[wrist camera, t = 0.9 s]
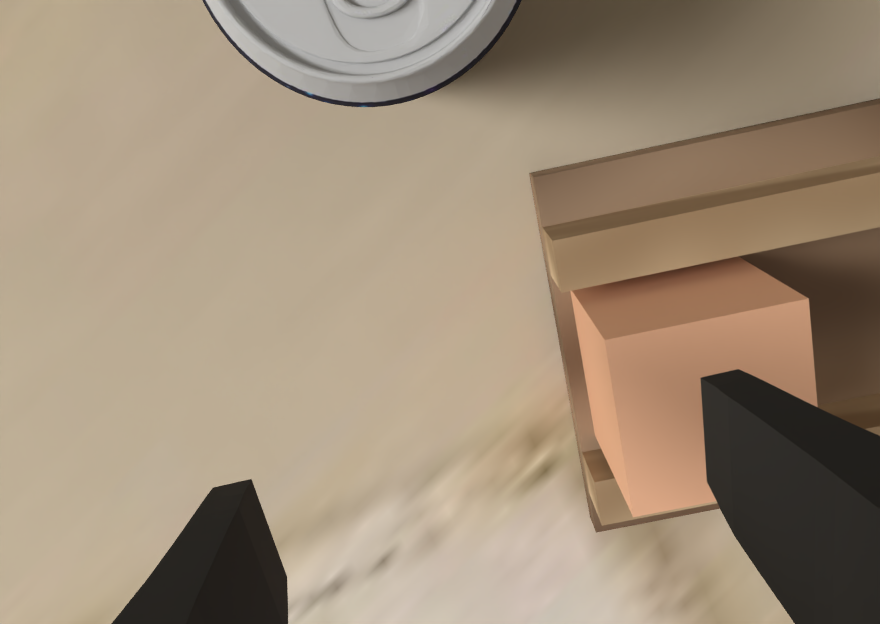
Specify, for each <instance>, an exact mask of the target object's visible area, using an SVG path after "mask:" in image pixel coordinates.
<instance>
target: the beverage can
mask: <svg viewBox="0 0 880 624" xmlns="http://www.w3.org/2000/svg"><path fill="white" fill-rule="evenodd" d="M203 2H204V4H205V6H206V8H207V10H208V11H209V13H210V15H211V17H212V18H213V20H214V21H215V23H216V24H217V26H218V27H219V29H220V30H221V31H222V33H223V34H224V35H225V36H226V38H227V39H228V40H229V42H230V43H231V44H232V45H233V46H234V47H235V48H236V49H237V50H238V52H239V53H240V54H242V55H243V56H244V57H245V58H246V59H247V60H248V61H249V62H250V63H251V64H252V65H254V66H255V67H256V68H257V69H259V70H260V71H261V72H263V73H264V74H265V75H267V76H268V77H270V78H271V79H273V80H274V81H276V82H278V83H279V84H281V85H283V86H285V87H287V88H289V89H291V90H293V91H295V92H297V93H299V94H302V95H304V96H307V97H309V98H313V99H316V100H319V101H322V102H327V103H331V104H336V105H343V106H352V107H378V106H388V105H393V104H399V103H403V102H407V101H411V100H414V99H417V98H420V97H423V96H425V95H428V94H430V93H432V92H434V91H437V90H439V89H440V88H442V87H444V86H446V85H448V84H450V83H451V82H453V81H454V80H456V79H457V78H459V77H460V76H462V75H463V74H464V73H465V72H467V71H468V70H469V69H471V68H472V67H473V66H474V65H475V64H476V63H477V62H478V61H480V60H481V59H482V58H483V57H484V56H485V54H486V53H487V52H488V51H489V50H490V49H491V48H492V47H493V46H494V44H495V43H496V42H497V41H498V39H499V38H500V37H501V35H502V34H503V32H504V31H505V29H506V28H507V27H508V25H509V23H510V21H511V20H512V18H513V16H514V15H515V13H516V11H517V9H518V7H519V5H520V2H521V0H203Z"/></svg>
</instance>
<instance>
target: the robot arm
mask: <svg viewBox="0 0 880 624" xmlns="http://www.w3.org/2000/svg"><path fill="white" fill-rule="evenodd" d="M700 379H701V395H702V411H703V427H704V443H705V459H706V476H707V483H708V485H709V487H710V489H711V491H712V493H713V495H714V497H715V499H716V501H717V503H718V505H719V507H720V509H721V511H722V513H723V515H724V517H725V519H726V521H727V523H728V524H729V526H730V528H731V530H732V532H733V534H734V536H735V537H736V539H737V540H738V542H739V543H740V545H741V546H742V548H743V549H744V551H745V552H746V554H747V555H748V556H749V558H750V559H751V561H752V562H753V564H754V565H755V567H756V568H757V570H758V571H759V573H760V574H761V575H762V577H763V578H764V580H765V581H766V583H767V584H768V586H769V587H770V588H771V590H772V591H773V593H774V594H775V596H776V597H777V599H778V600H779V601H780V603H781V604H782V606H783V607H784V609H785V610H786V611H787V613H788V614H789V616H790V617H791V619H792V620H793V622H794V623H795V624H880V436H879V435H877V434H874V433H872V432H870V431H868V430H865V429H863V428H861V427H859V426H856V425H854V424H852V423H850V422H848V421H845V420H843V419H841V418H839V417H837V416H835V415H833V414H830V413H828V412H826V411H824V410H822V409H820V408H818V407H816V406H814V405H812V404H810V403H808V402H806V401H804V400H802V399H800V398H798V397H796V396H794V395H792V394H789V393H787V392H785V391H783V390H781V389H779V388H777V387H775V386H773V385H771V384H769V383H767V382H765V381H763V380H761V379H759V378H757V377H755V376H753V375H751V374H748V373H746V372H744V371H742V370H739V369H736V370H732V371H728V372H723V373H719V374H714V375H710V376H705V377H701V378H700ZM112 624H288V596H287V576H286V573H285V570H284V568H283V565H282V562H281V559H280V557H279V554H278V551H277V548H276V546H275V543H274V540H273V537H272V535H271V532H270V529H269V526H268V524H267V521H266V518H265V515H264V513H263V510H262V507H261V504H260V502H259V499H258V496H257V493H256V491H255V488H254V485H253V482H252V480H251V479H250V480H245V481H241V482H236V483H232V484H228V485H223V486H219V487H214V488H213V489H212V490H211V491H210V493H209V494H208V495H207V497H206V498H205V499H204V501H203V502H202V504H201V505H200V506H199V508H198V509H197V511H196V512H195V514H194V515H193V516H192V518H191V519H190V521H189V522H188V524H187V525H186V526H185V528H184V529H183V531H182V532H181V534H180V535H179V536H178V538H177V539H176V541H175V542H174V543H173V545H172V546H171V548H170V549H169V550H168V552H167V553H166V554H165V556H164V557H163V559H162V560H161V561H160V563H159V564H158V565H157V567H156V568H155V569H154V571H153V572H152V574H151V575H150V576H149V578H148V579H147V580H146V582H145V583H144V584H143V585H142V587H141V588H140V589H139V590H138V592H137V593H136V594H135V595H134V597H133V598H132V599H131V600H130V601H129V603H128V604H127V605H126V606H125V608H124V609H123V610H122V611H121V613H120V614H119V615H118V616H117V618H116V619H115V620H114V621H113V623H112Z"/></svg>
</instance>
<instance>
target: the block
mask: <svg viewBox="0 0 880 624" xmlns="http://www.w3.org/2000/svg"><path fill="white" fill-rule="evenodd" d="M570 292H571V298H572V303H573V309H574V315H575V321H576V327H577V333H578V339H579V345H580V350H581V356H582V362H583V368H584V374H585V380H586V386H587V392H588V397H589V403H590V409H591V415H592V421H593V427H594V433H595V437H596V439H597V441H598V443H599V445H600V447H601V449H602V452H603V454H604V456H605V458H606V460H607V462H608V464H609V466H610V469H611V471H612V473H613V475H614V477H615V479H616V481H617V484H618V486H619V488H620V490H621V492H622V494H623V496H624V499H625V501H626V503H627V505H628V507H629V509H630V511H631V514H632V516H633V517H637V516H643V515H648V514H653V513H658V512H663V511H668V510H673V509H679V508H684V507H689V506H694V505H699V504H704V503H709V502H715V501H716V499H715V497H714V495H713V493H712V491H711V489H710V487H709V485H708V483H707V476H706V459H705V443H704V427H703V411H702V395H701V379H700V378H701V377H705V376H710V375H714V374H719V373H723V372H728V371H732V370H736V369H739V370H742V371H744V372H746V373H748V374H751V375H753V376H755V377H757V378H759V379H761V380H763V381H765V382H767V383H769V384H771V385H773V386H775V387H777V388H779V389H781V390H783V391H785V392H787V393H789V394H792V395H794V396H796V397H798V398H800V399H802V400H804V401H806V402H808V403H810V404H812V405H814V406H816V407H818V404H817V392H816V380H815V368H814V356H813V344H812V332H811V320H810V308H809V298H807V297H805V296H804V295H802V294H800V293H799V292H797V291H795V290H794V289H792V288H790V287H788V286H787V285H785V284H783V283H782V282H780V281H778V280H777V279H775V278H773V277H772V276H770V275H768V274H767V273H765V272H763V271H762V270H760V269H758V268H757V267H755V266H753V265H752V264H750V263H748V262H747V261H745V260H743V259H742V258H740V257H738V256H737V257H732V258H727V259H723V260H718V261H713V262H708V263H703V264H698V265H694V266H689V267H684V268H679V269H674V270H669V271H665V272H660V273H655V274H650V275H645V276H640V277H636V278H631V279H626V280H621V281H616V282H611V283H607V284H602V285H597V286H592V287H587V288H582V289H577V290H573V291H570Z"/></svg>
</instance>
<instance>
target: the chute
mask: <svg viewBox="0 0 880 624" xmlns="http://www.w3.org/2000/svg"><path fill="white" fill-rule="evenodd" d="M529 174H530V180H531V186H532V191H533V197H534V203H535V208H536V214H537V219H538V225H539V231H540V236H541V242H542V248H543V253H544V259H545V265H546V270H547V276H548V281H549V287H550V293H551V298H552V304H553V310H554V315H555V321H556V326H557V332H558V338H559V343H560V349H561V355H562V360H563V366H564V372H565V377H566V383H567V388H568V394H569V400H570V405H571V411H572V417H573V422H574V428H575V434H576V439H577V445H578V450H579V456H580V462H581V467H582V473H583V479H584V484H585V490H586V495H587V501H588V507H589V512H590V517H591V520H592V523H593V525H594V528H595V531H596V532H601V531H606V530H611V529H616V528H622V527H627V526H632V525H637V524H642V523H647V522H652V521H658V520H663V519H668V518H673V517H678V516H683V515H688V514H694V513H699V512H704V511H709V510H714V509H719V508H720V507H719V505H718V503H717V501H715V502H709V503H704V504H699V505H694V506H689V507H684V508H679V509H673V510H668V511H663V512H658V513H653V514H648V515H643V516H637V517H633V516H632V514H631V511H630V509H629V507H628V505H627V503H626V501H625V499H624V496H623V494H622V492H621V490H620V488H619V486H618V484H617V481H616V479H615V477H614V475H613V473H612V471H611V469H610V466H609V464H608V462H607V460H606V458H605V456H604V454H603V452H602V449H601V447H600V445H599V443H598V441H597V439H596V437H595V433H594V427H593V421H592V415H591V409H590V403H589V397H588V392H587V386H586V380H585V374H584V368H583V362H582V356H581V350H580V345H579V339H578V333H577V327H576V321H575V315H574V309H573V303H572V298H571V292H570V291H573V290H577V289H582V288H587V287H592V286H597V285H602V284H607V283H611V282H616V281H621V280H626V279H631V278H636V277H640V276H645V275H650V274H655V273H660V272H665V271H669V270H674V269H679V268H684V267H689V266H694V265H698V264H703V263H708V262H713V261H718V260H723V259H727V258H732V257H737V256H738V257H740V258H742V259H743V260H745V261H747V262H748V263H750V264H752V265H753V266H755V267H757V268H758V269H760V270H762V271H763V272H765V273H767V274H768V275H770V276H772V277H773V278H775V279H777V280H778V281H780V282H782V283H783V284H785V285H787V286H788V287H790V288H792V289H794V290H795V291H797V292H799V293H800V294H802V295H804V296H805V297H807V298H809V308H810V320H811V332H812V344H813V356H814V368H815V380H816V392H817V404H818V408H820V409H822V410H824V411H826V412H828V413H830V414H833V415H835V416H837V417H839V418H841V419H843V420H845V421H848V422H850V423H852V424H854V425H856V426H859V427H861V428H863V429H865V430H868V431H870V432H872V433H874V434H877V435H879V436H880V99H876V100H871V101H866V102H862V103H857V104H852V105H848V106H843V107H838V108H833V109H829V110H824V111H819V112H815V113H810V114H805V115H801V116H796V117H791V118H787V119H782V120H777V121H772V122H768V123H763V124H758V125H754V126H749V127H744V128H740V129H735V130H730V131H726V132H721V133H716V134H711V135H707V136H702V137H697V138H693V139H688V140H683V141H679V142H674V143H669V144H665V145H660V146H655V147H650V148H646V149H641V150H636V151H632V152H627V153H622V154H618V155H613V156H608V157H603V158H599V159H594V160H589V161H585V162H580V163H575V164H571V165H566V166H561V167H557V168H552V169H547V170H542V171H538V172H533V173H529Z"/></svg>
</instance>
